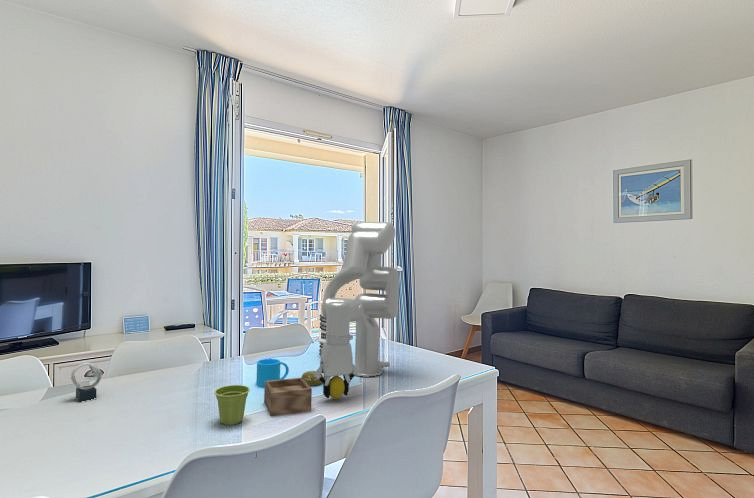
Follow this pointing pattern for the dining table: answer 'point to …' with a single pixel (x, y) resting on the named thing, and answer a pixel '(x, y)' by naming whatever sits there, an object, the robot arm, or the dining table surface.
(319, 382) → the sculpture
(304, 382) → the walnut box
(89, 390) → the watch
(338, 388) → the lemon
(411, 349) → the dining table surface
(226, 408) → the plant pot
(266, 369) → the mug
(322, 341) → the decorative candle
